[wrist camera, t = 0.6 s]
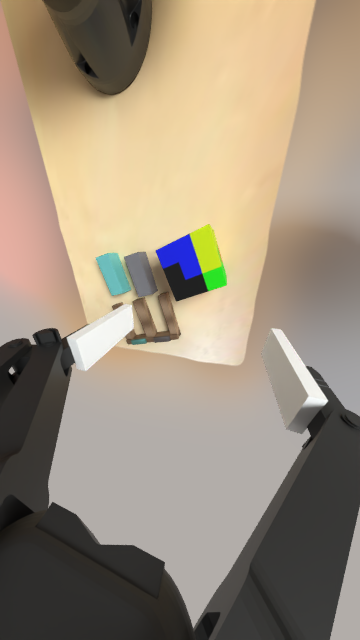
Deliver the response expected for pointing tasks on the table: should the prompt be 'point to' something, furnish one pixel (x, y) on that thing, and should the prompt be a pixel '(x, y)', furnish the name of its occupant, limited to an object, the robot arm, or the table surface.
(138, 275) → the grey block
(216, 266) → the puzzle toy
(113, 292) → the teal block
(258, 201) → the table surface
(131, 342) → the comb rack
